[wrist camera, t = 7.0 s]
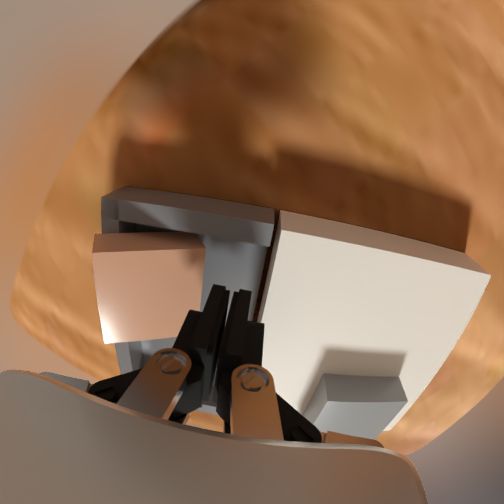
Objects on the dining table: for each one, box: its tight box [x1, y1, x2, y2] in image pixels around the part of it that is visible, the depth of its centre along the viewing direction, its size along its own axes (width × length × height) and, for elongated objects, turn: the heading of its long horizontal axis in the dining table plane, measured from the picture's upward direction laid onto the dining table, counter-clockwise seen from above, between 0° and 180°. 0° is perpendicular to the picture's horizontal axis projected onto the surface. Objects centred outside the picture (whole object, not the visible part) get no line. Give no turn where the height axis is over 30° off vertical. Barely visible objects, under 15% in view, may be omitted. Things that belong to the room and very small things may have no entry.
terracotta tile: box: [92, 232, 206, 343], centre depth 13 cm, size 5×5×2 cm
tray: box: [101, 186, 274, 415], centre depth 16 cm, size 14×8×2 cm, turn 171°
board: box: [257, 210, 491, 431], centre depth 15 cm, size 14×12×3 cm
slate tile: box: [302, 373, 408, 440], centre depth 14 cm, size 5×5×2 cm
